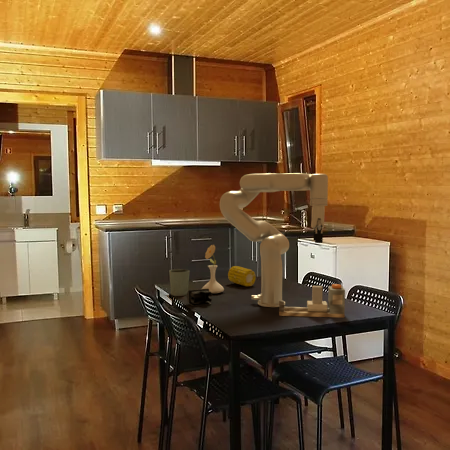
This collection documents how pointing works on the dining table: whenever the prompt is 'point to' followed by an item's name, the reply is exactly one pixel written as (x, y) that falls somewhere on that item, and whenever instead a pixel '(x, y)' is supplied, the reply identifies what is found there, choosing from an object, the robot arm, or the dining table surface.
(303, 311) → the rail base
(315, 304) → the carriage
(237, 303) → the dining table surface
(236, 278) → the food
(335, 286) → the button
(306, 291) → the dining table surface
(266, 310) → the dining table surface
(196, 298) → the end cap
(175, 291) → the green tapered cup
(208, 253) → the flower in vase
